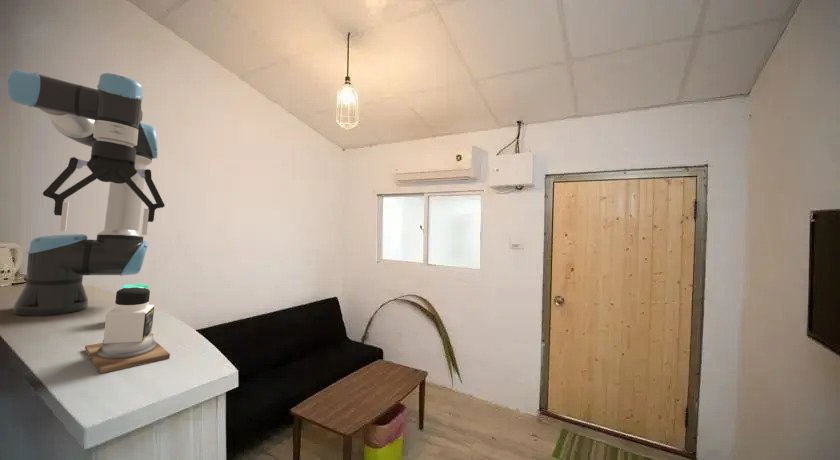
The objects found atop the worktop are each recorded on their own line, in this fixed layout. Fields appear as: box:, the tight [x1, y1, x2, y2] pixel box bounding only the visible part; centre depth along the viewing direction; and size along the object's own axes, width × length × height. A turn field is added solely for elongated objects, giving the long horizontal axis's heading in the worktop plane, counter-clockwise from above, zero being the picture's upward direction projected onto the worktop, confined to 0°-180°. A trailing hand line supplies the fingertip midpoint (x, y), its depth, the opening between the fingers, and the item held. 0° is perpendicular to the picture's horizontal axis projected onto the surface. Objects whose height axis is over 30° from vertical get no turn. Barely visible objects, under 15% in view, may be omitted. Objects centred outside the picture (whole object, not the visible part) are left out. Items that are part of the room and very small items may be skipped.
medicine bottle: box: [102, 287, 155, 344], centre depth 76 cm, size 7×7×12 cm
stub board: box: [84, 332, 171, 374], centre depth 77 cm, size 16×12×4 cm
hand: (106, 233), depth 75 cm, fingers open, 13 cm apart
